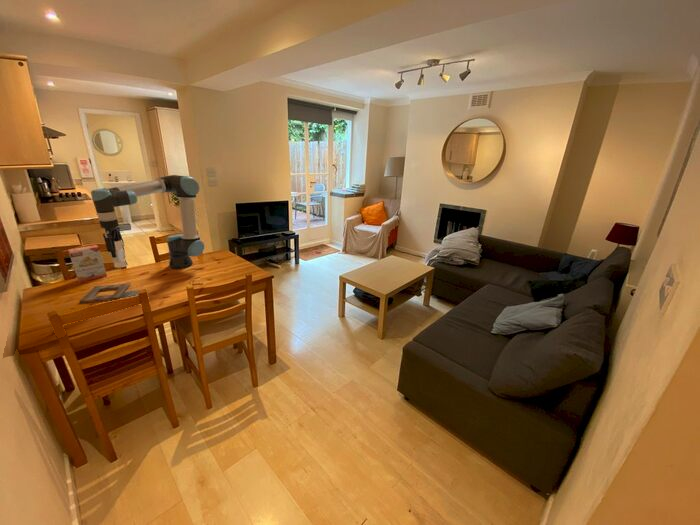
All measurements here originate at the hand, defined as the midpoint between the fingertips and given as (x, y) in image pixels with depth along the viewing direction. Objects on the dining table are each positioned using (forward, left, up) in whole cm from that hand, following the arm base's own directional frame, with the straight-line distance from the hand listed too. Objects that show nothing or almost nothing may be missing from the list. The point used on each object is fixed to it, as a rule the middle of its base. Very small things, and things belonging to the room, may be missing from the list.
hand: (119, 259), depth 158 cm
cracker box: (+30, -32, -23) cm, 49 cm away
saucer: (-1, 0, -23) cm, 23 cm away
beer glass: (0, 0, -4) cm, 4 cm away
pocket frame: (+13, -6, -23) cm, 27 cm away
